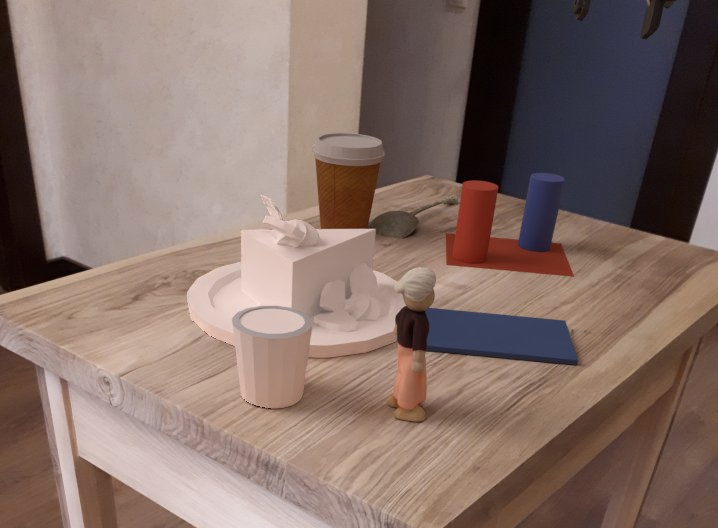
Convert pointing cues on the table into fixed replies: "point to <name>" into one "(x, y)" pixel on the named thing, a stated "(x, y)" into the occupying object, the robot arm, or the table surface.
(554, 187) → the blue cylinder
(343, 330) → the dish
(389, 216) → the soupspoon
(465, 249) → the red cylinder
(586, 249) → the table surface
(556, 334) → the blue mat
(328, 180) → the disposable coffee cup
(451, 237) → the red mat
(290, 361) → the white tapered cup
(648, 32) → the robot arm
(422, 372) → the grandmother figurine
